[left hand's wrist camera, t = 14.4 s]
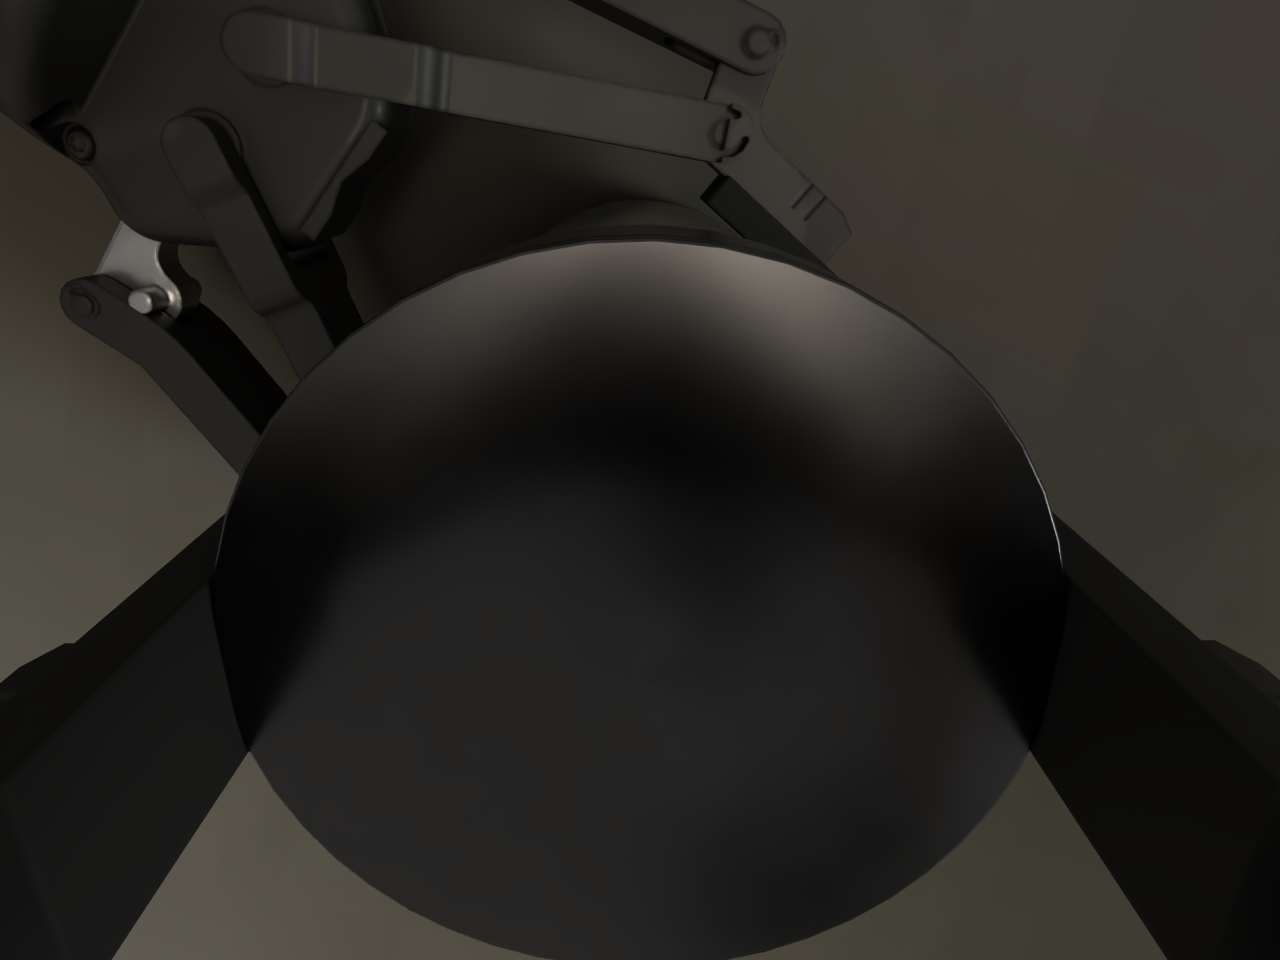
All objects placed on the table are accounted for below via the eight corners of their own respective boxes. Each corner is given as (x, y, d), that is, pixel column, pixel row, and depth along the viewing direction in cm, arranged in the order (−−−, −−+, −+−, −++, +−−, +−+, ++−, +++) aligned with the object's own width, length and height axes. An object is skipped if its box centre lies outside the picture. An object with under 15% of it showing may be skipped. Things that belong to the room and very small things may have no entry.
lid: (320, 860, 14) (274, 960, 12) (220, 209, 10) (130, 220, 8) (935, 875, 14) (977, 977, 13) (1081, 238, 10) (1173, 255, 8)
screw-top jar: (596, 131, 24) (512, 77, 8) (851, 318, 27) (1175, 563, 10) (436, 395, 28) (148, 727, 11) (675, 544, 30) (717, 1001, 14)
